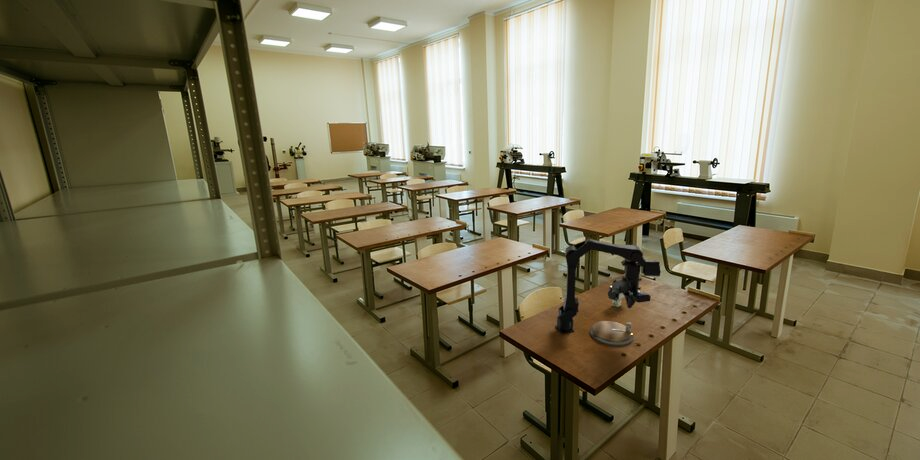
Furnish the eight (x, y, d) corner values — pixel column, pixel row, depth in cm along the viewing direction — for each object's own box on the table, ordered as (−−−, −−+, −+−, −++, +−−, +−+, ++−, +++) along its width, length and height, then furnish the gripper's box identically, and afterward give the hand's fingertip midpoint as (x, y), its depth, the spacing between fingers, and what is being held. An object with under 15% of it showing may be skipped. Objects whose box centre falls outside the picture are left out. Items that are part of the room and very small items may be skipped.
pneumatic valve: (606, 307, 198) (607, 285, 195) (618, 300, 205) (620, 279, 202) (616, 311, 194) (618, 289, 191) (628, 304, 201) (630, 282, 198)
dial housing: (606, 349, 162) (606, 346, 162) (582, 328, 179) (582, 325, 179) (642, 341, 167) (642, 338, 167) (615, 322, 184) (615, 319, 183)
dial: (592, 339, 168) (593, 328, 166) (592, 321, 182) (592, 311, 181) (632, 344, 163) (634, 333, 161) (628, 325, 178) (629, 315, 176)
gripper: (603, 269, 173) (601, 301, 177) (628, 285, 155) (625, 320, 159) (625, 266, 175) (623, 298, 179) (653, 282, 157) (649, 317, 161)
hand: (629, 308), depth 169 cm, fingers closed
